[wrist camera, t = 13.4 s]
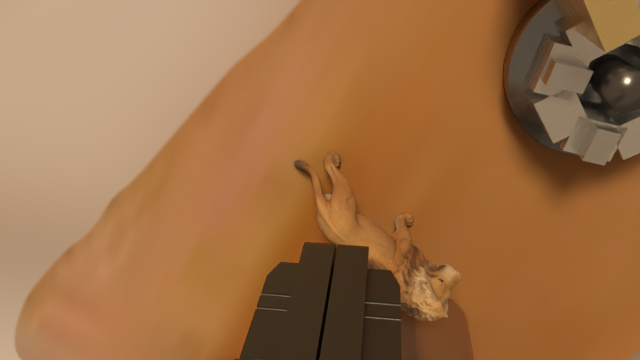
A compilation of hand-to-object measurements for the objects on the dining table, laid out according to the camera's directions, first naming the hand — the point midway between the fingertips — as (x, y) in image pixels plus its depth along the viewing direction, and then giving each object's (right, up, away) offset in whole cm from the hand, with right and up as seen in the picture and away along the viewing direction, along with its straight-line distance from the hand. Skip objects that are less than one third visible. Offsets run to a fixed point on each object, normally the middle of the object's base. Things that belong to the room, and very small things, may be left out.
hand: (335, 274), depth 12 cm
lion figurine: (+4, 0, +31) cm, 31 cm away
